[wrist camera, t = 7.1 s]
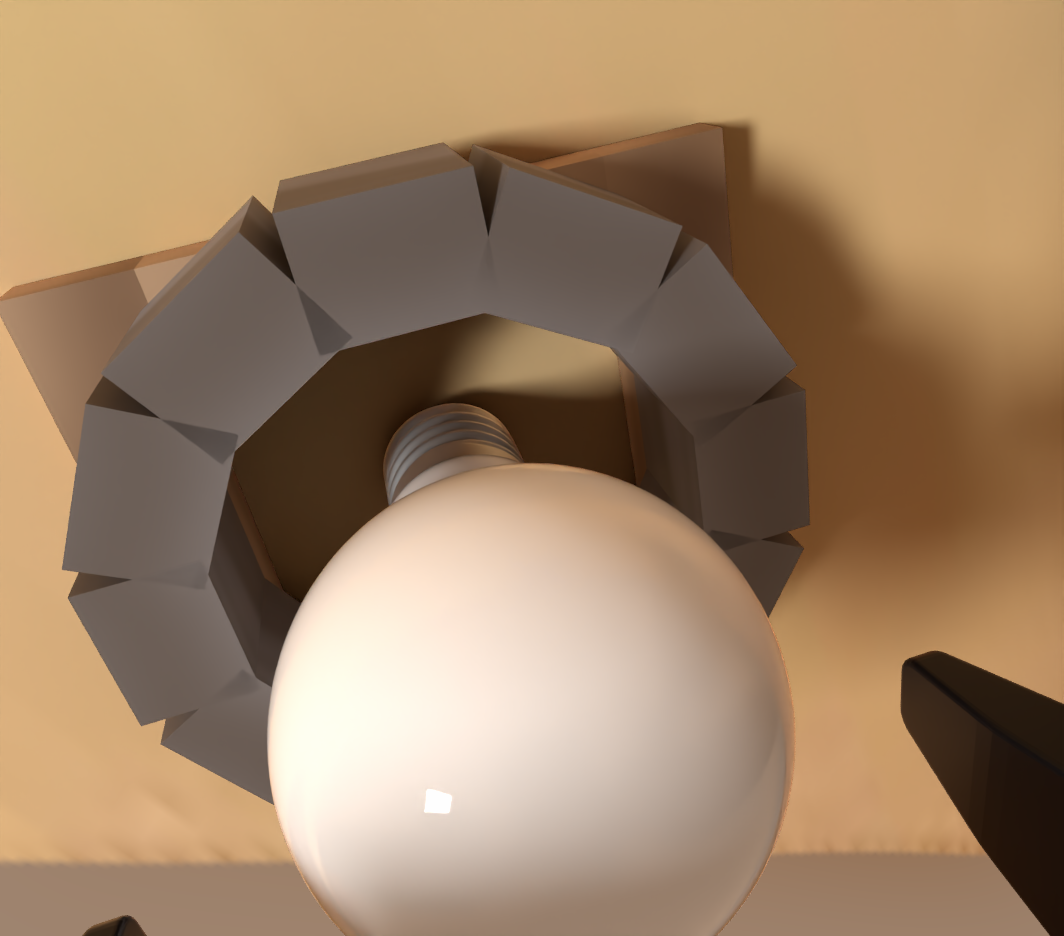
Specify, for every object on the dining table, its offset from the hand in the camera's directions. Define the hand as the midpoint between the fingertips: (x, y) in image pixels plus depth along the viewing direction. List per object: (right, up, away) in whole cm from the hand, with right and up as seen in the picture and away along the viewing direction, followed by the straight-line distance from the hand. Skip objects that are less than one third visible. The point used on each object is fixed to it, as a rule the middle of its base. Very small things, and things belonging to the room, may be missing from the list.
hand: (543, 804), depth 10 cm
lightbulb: (-2, +4, +8) cm, 9 cm away
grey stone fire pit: (-2, +4, +8) cm, 9 cm away
